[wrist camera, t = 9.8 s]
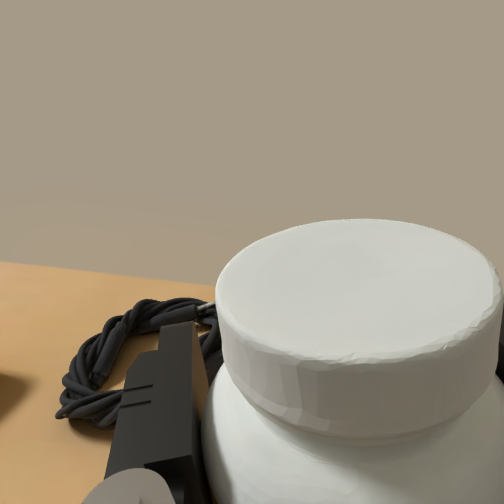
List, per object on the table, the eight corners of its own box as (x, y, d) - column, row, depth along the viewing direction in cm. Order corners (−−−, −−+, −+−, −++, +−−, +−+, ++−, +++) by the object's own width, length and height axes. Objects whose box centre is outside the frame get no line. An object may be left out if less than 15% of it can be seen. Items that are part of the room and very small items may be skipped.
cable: (97, 484, 28) (76, 437, 26) (30, 385, 37) (11, 346, 35) (278, 348, 37) (272, 307, 36) (187, 298, 47) (179, 264, 45)
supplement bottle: (204, 623, 11) (93, 296, 6) (329, 471, 14) (309, 189, 10) (412, 888, 7) (464, 533, 3) (516, 599, 10) (611, 235, 6)
